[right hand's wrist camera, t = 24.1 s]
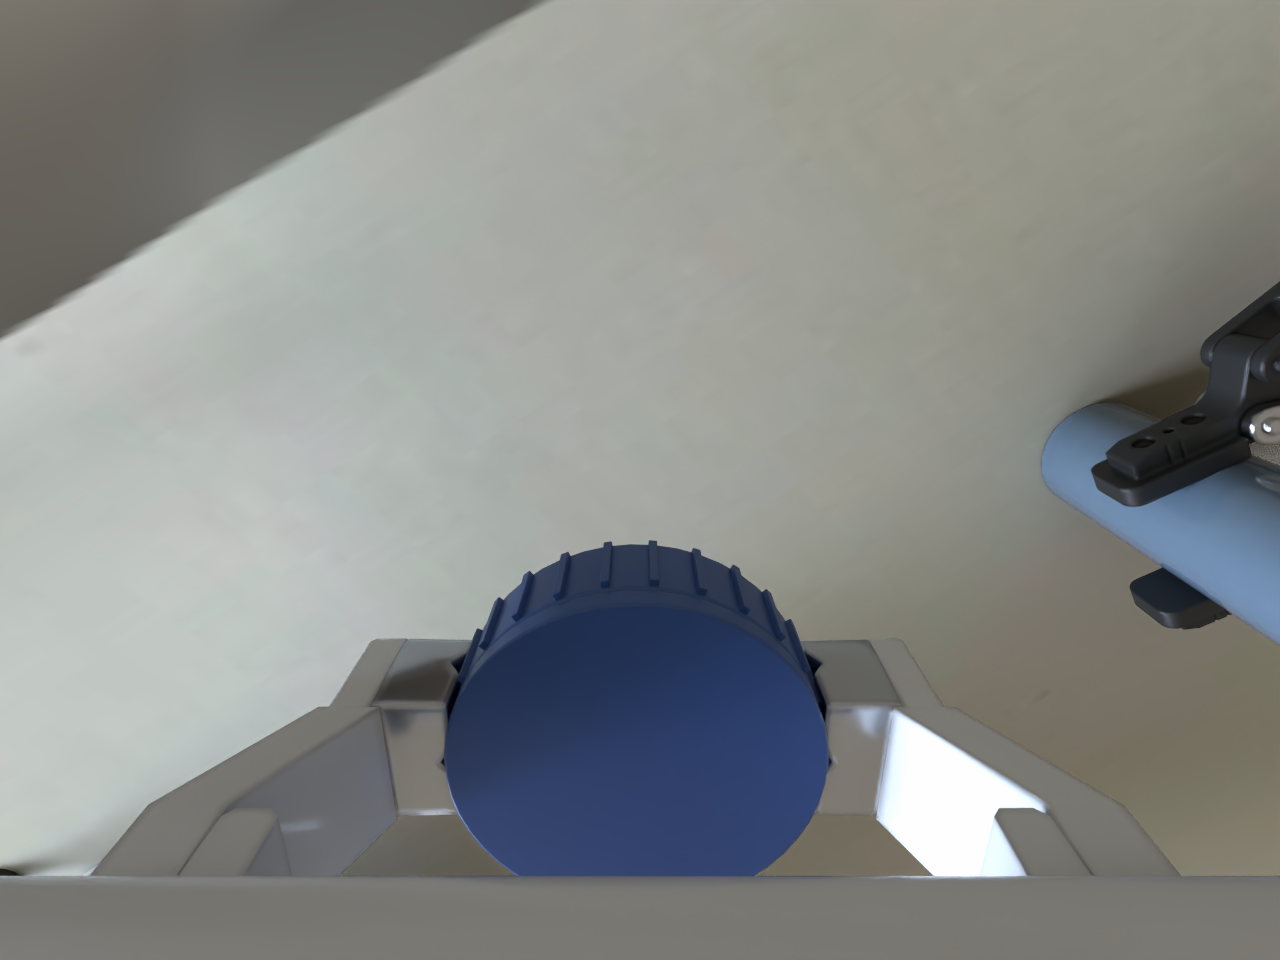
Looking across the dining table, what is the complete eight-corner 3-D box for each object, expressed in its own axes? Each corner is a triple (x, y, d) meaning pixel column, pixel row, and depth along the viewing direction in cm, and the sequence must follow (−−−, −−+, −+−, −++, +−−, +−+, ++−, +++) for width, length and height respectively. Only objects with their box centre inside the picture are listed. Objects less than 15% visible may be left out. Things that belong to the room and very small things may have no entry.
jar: (1126, 509, 30) (1627, 812, 15) (1026, 497, 30) (1433, 792, 15) (1167, 409, 29) (1775, 634, 13) (1062, 395, 28) (1560, 608, 13)
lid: (444, 542, 10) (408, 605, 8) (816, 531, 9) (850, 592, 8) (485, 823, 11) (462, 918, 10) (798, 815, 11) (824, 908, 10)
